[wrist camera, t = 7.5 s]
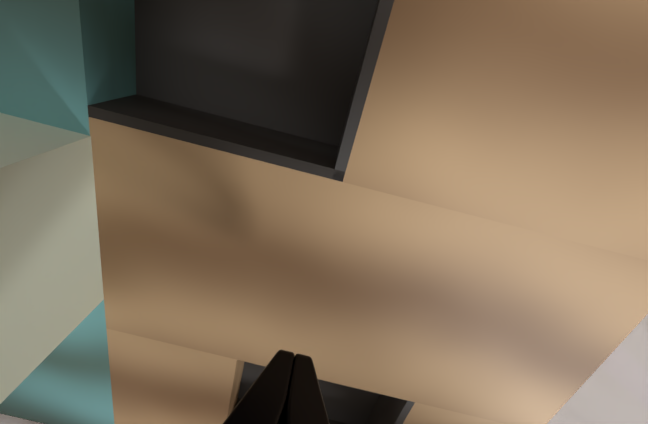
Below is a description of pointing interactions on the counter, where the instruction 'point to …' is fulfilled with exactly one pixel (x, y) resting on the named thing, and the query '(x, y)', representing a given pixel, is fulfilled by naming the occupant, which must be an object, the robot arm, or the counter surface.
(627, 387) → the counter surface
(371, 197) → the toy board
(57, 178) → the block
